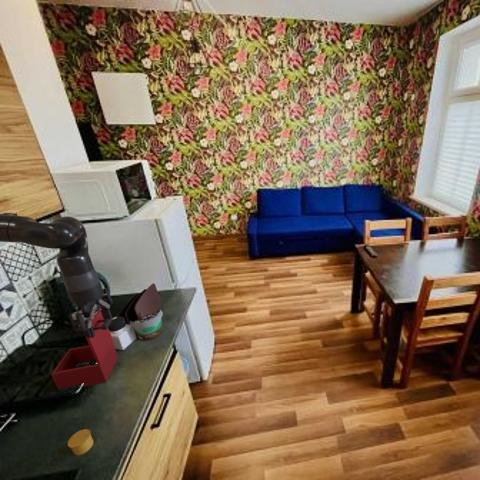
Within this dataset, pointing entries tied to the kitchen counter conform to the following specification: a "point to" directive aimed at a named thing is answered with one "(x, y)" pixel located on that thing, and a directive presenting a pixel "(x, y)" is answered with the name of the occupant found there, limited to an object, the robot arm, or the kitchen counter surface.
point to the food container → (148, 326)
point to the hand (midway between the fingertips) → (99, 327)
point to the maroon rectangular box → (89, 374)
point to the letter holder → (141, 305)
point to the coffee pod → (81, 442)
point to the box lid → (100, 336)
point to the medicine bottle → (121, 333)
